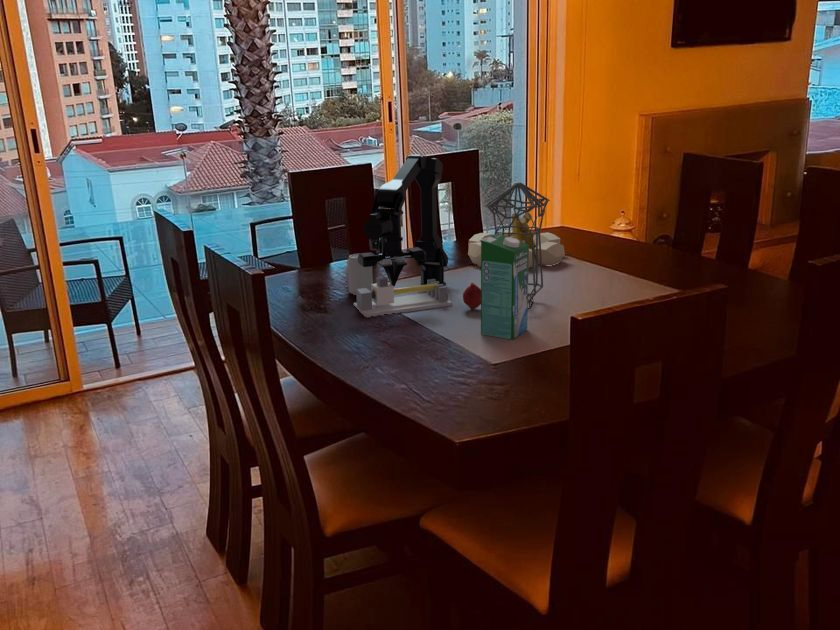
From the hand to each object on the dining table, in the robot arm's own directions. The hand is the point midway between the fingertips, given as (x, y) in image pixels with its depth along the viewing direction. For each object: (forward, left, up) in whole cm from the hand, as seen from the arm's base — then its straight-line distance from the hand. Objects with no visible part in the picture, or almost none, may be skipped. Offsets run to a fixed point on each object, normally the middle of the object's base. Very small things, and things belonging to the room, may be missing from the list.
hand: (393, 286), depth 218 cm
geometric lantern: (-34, +12, -6) cm, 36 cm away
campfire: (-59, -36, -7) cm, 69 cm away
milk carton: (-19, +33, -6) cm, 38 cm away
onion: (-20, +12, -6) cm, 24 cm away
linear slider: (-3, 0, -6) cm, 7 cm away
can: (+4, -18, -6) cm, 20 cm away
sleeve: (+3, 0, -4) cm, 5 cm away
